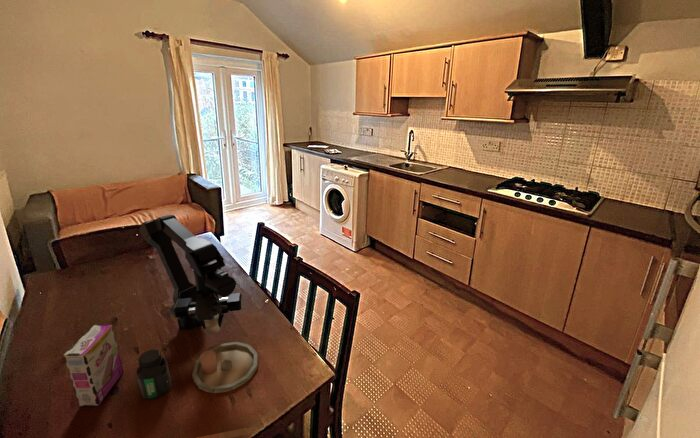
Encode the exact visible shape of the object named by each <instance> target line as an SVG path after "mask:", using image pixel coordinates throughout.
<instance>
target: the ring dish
mask: <svg viewBox="0 0 700 438" xmlns="http://www.w3.org/2000/svg"><path fill="white" fill-rule="evenodd" d="M209 350H212V351H214V352H215V355H216V362H217V370H216V371H215V372H214V373H213V374H210V375H204V374H203V373H202V368H201V362H200V357H199V358H198V359H196V361H195V362H194V367H193V369H192V374H191V375H192V379H193V382H194V384H195V386H196V387H197V388H198V389H199V390H202V391H204V392H206V393H212V394H218V393H219V394H220V393H221V394H222V393H225V392H230V391H234V390H235V389H237V388H239V387H241V386H243V385H244V384H245V383H247V382H248V381H249V380H250V379H251V378H252V376H253V375H254V374H255V373H256V371H257V370H258V364H259V360H258V359H259V356H258V352H257V351H256V350H255V349H254V347H252V346H251V345H250V344H247V343H243V342H239V341H231V342H225V343H224V342H223V343H220V344H218V345H216V346H214V347H211V348H210V349H207V350H206V351H209Z"/></svg>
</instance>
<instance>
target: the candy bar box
mask: <svg viewBox="0 0 700 438" xmlns="http://www.w3.org/2000/svg"><path fill="white" fill-rule="evenodd" d="M113 326H114V325H112V324H94V325H93V326H92V327H91V328H90V329H89V330H87V331H86V333H85V334H84V335H83V336H81V337H80V339H79V340H77V341H76V342H75V344H73V345H72V346H71V347H70V348H69V349H68V350H67V351H66V352H65V353H64V354H63V358H64V361H65V365H66V367H67V371H68V373H69V377H70V380H71V383H72V387H73V389H74V392H75V396H76V399H77V402H78V405H79V406H80V407H97V406H98V407H99V406H100V405H101V404H102V402H103V401H104V399H105V398H106V397H107V395H108V394H109V393H110V391H111V389H113V387H114V386H115V384H116V383H117V381H118V380H119V379H120V377H121V376H122V374H124V368H123V363H122V360H121V356H120V355H121V354H120V352H119V347H118V343H117V339H116V335H115V331H114V327H113Z"/></svg>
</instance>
